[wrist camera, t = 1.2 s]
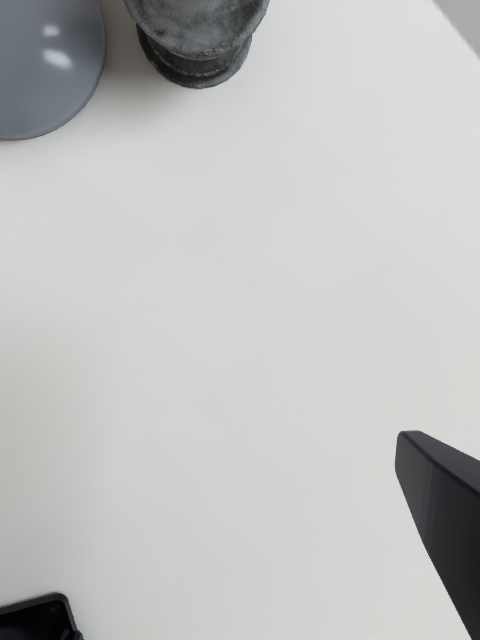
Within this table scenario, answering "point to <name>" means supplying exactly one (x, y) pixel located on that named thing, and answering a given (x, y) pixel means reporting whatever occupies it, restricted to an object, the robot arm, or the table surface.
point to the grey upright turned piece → (197, 37)
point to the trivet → (47, 63)
